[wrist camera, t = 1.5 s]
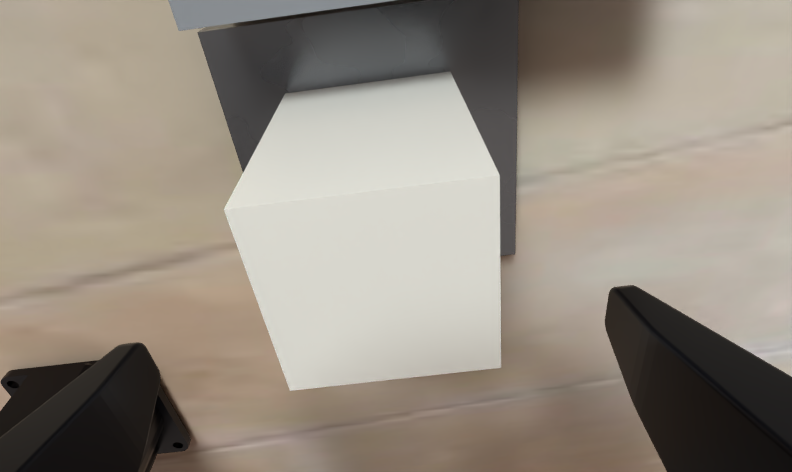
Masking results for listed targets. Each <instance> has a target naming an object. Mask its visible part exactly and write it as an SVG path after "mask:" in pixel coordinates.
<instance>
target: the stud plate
mask: <svg viewBox="0 0 792 472" xmlns="http://www.w3.org/2000/svg"><path fill="white" fill-rule="evenodd" d="M518 3H519V0H395V1H388V2H381V3H374V4H367V5H360V6H352V7H345V8H338V9H331V10H324V11H317V12H310V13H303V14H295V15H288V16H281V17H274V18H267V19H260V20H253V21H245V22H238V23H231V24H224V25H217V26H210V27H205V28H204V29H202V30H201V31H199V32H198V35H199V38H200V41H201V45H202V48H203V51H204V54H205V57H206V60H207V63H208V66H209V69H210V72H211V75H212V78H213V81H214V84H215V88H216V91H217V94H218V97H219V100H220V103H221V106H222V109H223V112H224V115H225V118H226V121H227V124H228V127H229V131H230V134H231V137H232V140H233V143H234V146H235V149H236V152H237V155H238V158H239V161H240V164H241V167H242V171H243V172H244V170H245V168H246V167H247V165H248V163H249V161H250V159H251V157H252V155H253V153H254V151H255V150H256V148H257V146H258V144H259V142H260V140H261V138H262V136H263V134H264V133H265V131H266V129H267V127H268V125H269V123H270V121H271V119H272V117H273V115H274V114H275V112H276V110H277V108H278V106H279V104H280V102H281V100H282V98H283V97H284V95H285V93H293V92H300V91H308V90H315V89H323V88H330V87H338V86H345V85H353V84H360V83H368V82H375V81H383V80H390V79H398V78H405V77H412V76H420V75H427V74H435V73H442V72H451V74H452V76H453V78H454V80H455V82H456V84H457V87H458V89H459V91H460V93H461V95H462V97H463V99H464V101H465V103H466V105H467V108H468V110H469V112H470V114H471V116H472V118H473V120H474V122H475V124H476V126H477V129H478V131H479V133H480V135H481V137H482V139H483V141H484V143H485V145H486V147H487V150H488V152H489V154H490V156H491V158H492V160H493V162H494V164H495V166H496V168H497V171H498V173H499V175H500V256H502V255H511V254H515V226H516V152H517V78H518Z"/></svg>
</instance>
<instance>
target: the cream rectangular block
mask: <svg viewBox="0 0 792 472" xmlns="http://www.w3.org/2000/svg"><path fill="white" fill-rule="evenodd" d="M224 212H225V214H226V217H227V220H228V223H229V225H230V228H231V231H232V233H233V236H234V239H235V242H236V244H237V247H238V250H239V253H240V255H241V258H242V261H243V263H244V266H245V269H246V272H247V274H248V277H249V280H250V283H251V285H252V288H253V291H254V294H255V296H256V299H257V302H258V304H259V307H260V310H261V313H262V315H263V318H264V321H265V324H266V326H267V329H268V332H269V334H270V337H271V340H272V343H273V345H274V348H275V351H276V354H277V356H278V359H279V362H280V364H281V367H282V370H283V373H284V375H285V378H286V381H287V384H288V386H289V389H290V391H292V390H302V389H311V388H320V387H329V386H338V385H348V384H357V383H366V382H375V381H384V380H394V379H403V378H412V377H421V376H430V375H440V374H449V373H458V372H467V371H476V370H486V369H495V368H501V284H500V175H499V173H498V171H497V168H496V166H495V164H494V162H493V160H492V158H491V156H490V154H489V152H488V150H487V147H486V145H485V143H484V141H483V139H482V137H481V135H480V133H479V131H478V129H477V126H476V124H475V122H474V120H473V118H472V116H471V114H470V112H469V110H468V108H467V105H466V103H465V101H464V99H463V97H462V95H461V93H460V91H459V89H458V87H457V84H456V82H455V80H454V78H453V76H452V74H451V72H442V73H435V74H427V75H420V76H412V77H405V78H398V79H390V80H383V81H375V82H368V83H360V84H353V85H345V86H338V87H330V88H323V89H315V90H308V91H300V92H293V93H285V95H284V97H283V98H282V100H281V102H280V104H279V106H278V108H277V110H276V112H275V114H274V115H273V117H272V119H271V121H270V123H269V125H268V127H267V129H266V131H265V133H264V134H263V136H262V138H261V140H260V142H259V144H258V146H257V148H256V150H255V151H254V153H253V155H252V157H251V159H250V161H249V163H248V165H247V167H246V168H245V170H244V172H243V174H242V176H241V178H240V180H239V182H238V184H237V186H236V187H235V189H234V191H233V193H232V195H231V197H230V199H229V201H228V203H227V204H226V206H225V208H224Z"/></svg>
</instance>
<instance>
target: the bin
mask: <svg viewBox="0 0 792 472" xmlns="http://www.w3.org/2000/svg"><path fill="white" fill-rule="evenodd" d="M168 1H169V4H170V6H171V9H172V12H173V15H174V18H175V21H176V24H177V27H178V30H179V31H181V30H188V29H196V28H203V27H210V26H217V25H224V24H231V23H238V22H245V21H253V20H260V19H267V18H274V17H281V16H288V15H295V14H303V13H310V12H317V11H324V10H331V9H338V8H345V7H352V6H360V5H367V4H374V3H381V2H388V1H395V0H168Z"/></svg>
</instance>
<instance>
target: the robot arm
mask: <svg viewBox="0 0 792 472" xmlns="http://www.w3.org/2000/svg"><path fill="white" fill-rule="evenodd" d="M605 327H606V331H607V334H608V337H609V340H610V342H611V345H612V348H613V351H614V353H615V356H616V359H617V361H618V364H619V367H620V370H621V372H622V375H623V378H624V380H625V383H626V386H627V389H628V391H629V394H630V396H631V399H632V402H633V404H634V406H635V408H636V410H637V413H638V415H639V417H640V419H641V421H642V423H643V425H644V427H645V429H646V431H647V433H648V435H649V437H650V439H651V441H652V443H653V445H654V447H655V449H656V451H657V453H658V455H659V457H660V458H661V460H662V462H663V464H664V466H665V468H666V470H667V472H792V377H791V376H790V375H788V374H786V373H784V372H783V371H781V370H779V369H777V368H776V367H774V366H772V365H771V364H769V363H767V362H765V361H764V360H762V359H760V358H759V357H757V356H755V355H753V354H752V353H750V352H748V351H747V350H745V349H743V348H741V347H740V346H738V345H736V344H735V343H733V342H731V341H729V340H728V339H726V338H724V337H723V336H721V335H719V334H717V333H716V332H714V331H712V330H711V329H709V328H707V327H705V326H704V325H702V324H700V323H699V322H697V321H695V320H693V319H692V318H690V317H688V316H686V315H685V314H683V313H681V312H680V311H678V310H676V309H674V308H673V307H671V306H669V305H668V304H666V303H664V302H662V301H661V300H659V299H657V298H656V297H654V296H652V295H650V294H649V293H647V292H645V291H644V290H642V289H640V288H638V287H636V286H634V285H628V286H619V287H614V288H612V289H611V290H610V292H609V296H608V303H607V310H606V316H605ZM1 384H2V386H3V387H4V388H5V390H6V391H7V392H8V393H9V394H10V395H11V398H10V399H9V401H8V402H7V403H6V405H5V406H4V407H3V409H2V410H1V411H0V472H150V470H151V468H152V465H153V463H154V460H155V458H156V455H157V454H160V453H170V452H179V451H185V450H186V449H187V448H188V446H189V443H190V441H191V438H190V436H189V434H188V433H187V431H186V429H185V427H184V426H183V424H182V422H181V421H180V419H179V417H178V415H177V414H176V412H175V410H174V409H173V407H172V405H171V403H170V402H169V400H168V398H167V397H166V395H165V393H164V391H163V390H162V388H161V386H160V372H159V369H158V367H157V366H156V364H155V362H154V360H153V359H152V357H151V355H150V353H149V351H148V350H147V348H146V346H145V345H143V344H142V343H128V344H122V345H119V346H117V347H116V348H114V349H113V350H112V351H110V352H109V353H108V354H107V355H105V356H104V357H103V358H101V359H100V360H98V361H89V362H80V363H71V364H62V365H54V366H45V367H36V368H27V369H18V370H11V371H9V372H8V373H7V374H6V375H5V376H4V377H3V378H2V380H1Z"/></svg>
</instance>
